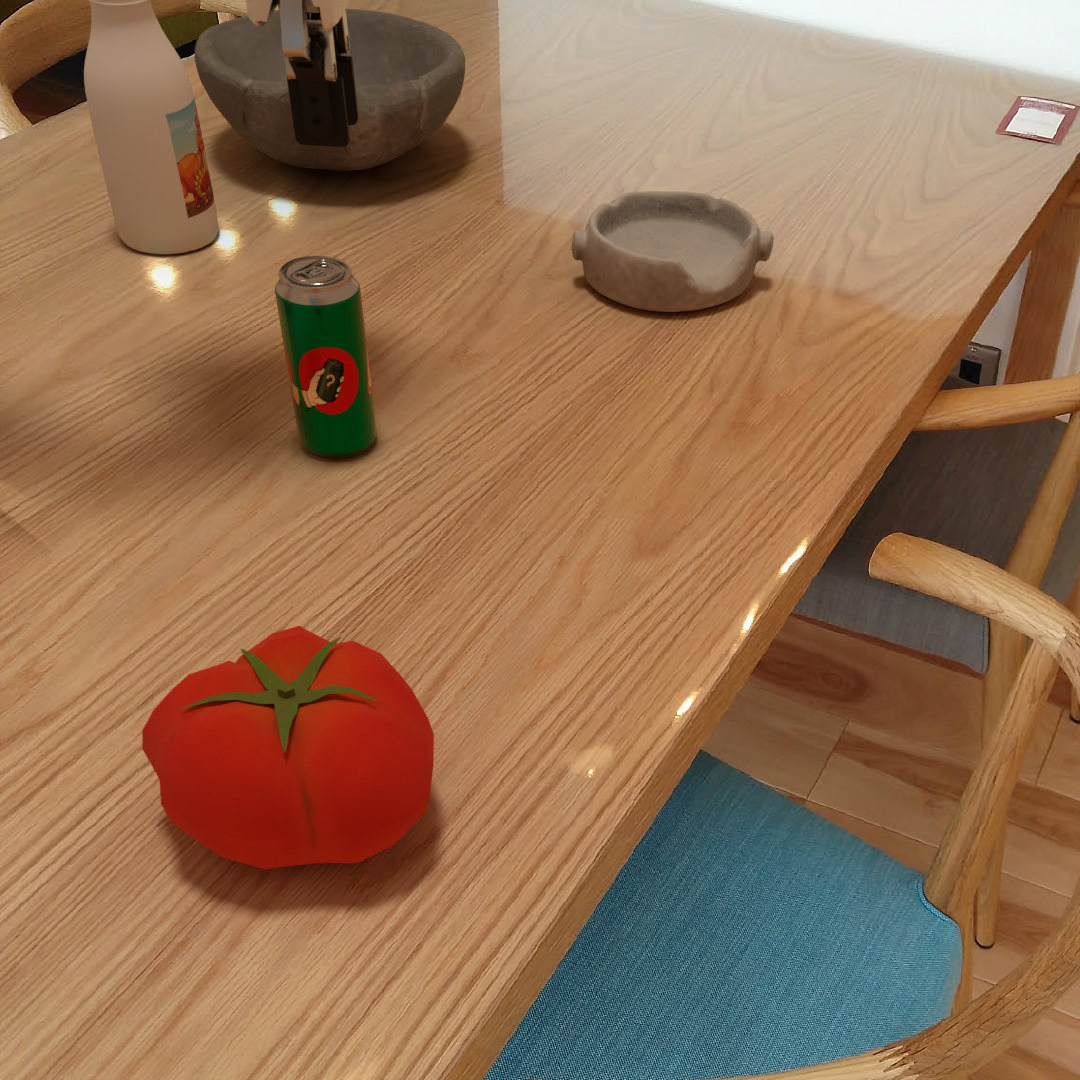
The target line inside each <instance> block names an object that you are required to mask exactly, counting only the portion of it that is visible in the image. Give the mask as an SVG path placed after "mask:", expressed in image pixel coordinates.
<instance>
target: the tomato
mask: <svg viewBox="0 0 1080 1080" xmlns="http://www.w3.org/2000/svg"><path fill="white" fill-rule="evenodd" d="M342 637H343V635H340V636H339V637H337V638H336V639H333V640H332V641H329V640H328V639H326V638H324V637H322V636H321V635H318V634H316V633H314V632H312V631H310V630H308V629H306V628H305V627H302V626H301V625H297V626H293V627H290V628H286V629H283V630H279V631H276V632H272V633H270V634H269V635H268V636H267V637H265V638H263V639H262V640H261V641H259V642H258V643H256V644H255V645H253V646H252V647H251V648H250V649H248V650H246V649H244V648H240V649H239V650H240V651H241V653H242V655H240V656H239V657H238V659H237V660H235V662H234V661H231V660H226V661H224V662H222V663H219V664H216V665H212V666H209V667H206V668H203V669H200V670H197V671H194V672H192V673H188V675H186V676H185V677H184V678H183V679H182V680H181V681H179V682H178V683H177V684H176V685H175V686H174V687H173V688H171V690H170V691H169V692H168V693H166V695H165V696H164V697H163V699H162V700H161V701H160V702H159V703H158V704H157V705H156V707H154V709H152V712H151V714H149V715H150V716H149V717H148V719H147V721H146V723H145V725H144V727H143V729H142V731H141V732H142V733H141V734H142V735H141V736H142V739H141V740H142V742H141V743H142V744H141V745H142V746H141V747H142V751H143V753H144V755H145V757H146V758H147V760H148V761H149V764H150V765H151V767H152V768H153V770H154V772H155V775H156V777H157V778H158V780H159V792H160V793H159V794H160V805H161V807H162V808H163V809H164V812H165V814H166V816H167V817H168V819H169V821H170V822H171V825H174V826H175V827H176V828H178V829H179V830H180V831H182V832H183V833H185V834H186V835H187V836H189V837H191V838H192V839H193V840H195V841H196V842H198V843H200V845H203V846H204V847H206V848H207V849H209V850H211V851H212V852H213V853H215V854H216V855H217V856H220V857H221V858H223V859H226V860H230V861H234V862H237V863H240V864H244V865H248V866H251V867H255V868H258V869H261V870H270V869H277V868H284V867H294V866H305V865H312V864H359V863H360V862H363V861H364V860H367V859H369V858H371V857H373V856H375V855H377V854H379V853H382V852H383V851H386V850H388V849H390V848H391V847H393V846H395V845H396V844H397V843H398V842H399V841H400V840H401V839H402V837H404V835H405V834H407V832H408V831H409V830H410V829H411V828H412V827H413V826H414V825H415V824H416V823H417V822H418V821H419V820H420V819H421V818H422V817H423V816H424V815H425V814H426V813H427V811H428V808H429V803H430V797H431V790H432V780H433V771H434V761H435V760H434V756H435V754H434V752H435V734H434V731H433V728H432V725H431V722H430V719H429V717H428V716H427V713H426V712H425V710H424V708H423V706H422V704H421V703H420V701H419V700H418V698H417V696H416V693H415V692H414V691H413V689H412V687H411V686H410V685H409V684H408V682H407V681H406V680H405V679H404V678H403V676H402V675H401V674H400V673H399V672H398V670H396V669H395V667H394V666H393V665H392V664H391V662H390V661H389V660H388V659H387V658H386V657H385V656H384V655H383V654H382V653H381V652H379V651H377V650H374V649H372V648H370V647H368V646H365V645H363V644H362V643H360V642H357V641H355V640H347V641H341V642H339V641H340V640H341V638H342Z"/></svg>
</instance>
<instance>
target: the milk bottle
mask: <svg viewBox="0 0 1080 1080" xmlns="http://www.w3.org/2000/svg"><path fill="white" fill-rule="evenodd" d="M87 1H88V2H89V6H90V14H91V20H90V24H91V25H90V34H89V38H88V39H89V40H88V43H87V49H86V53H85V60H84V66H83V67H84V68H83V84H84V90H85V91H84V92H85V97H86V103H87V107H88V112H89V117H90V122H91V126H92V131H93V136H94V139H95V143H96V144H95V145H96V149H97V152H98V157H99V162H100V165H101V169H102V173H103V177H104V183H105V186H106V190H107V194H108V199H109V203H110V208H111V211H112V215H113V219H114V224H115V227H116V231H117V234H118V236H119V238H120V239H121V241H122V242H123V243H124V244H125V245H126V246H127V247H129V248H131V249H133V250H135V251H138V252H141V253H147V254H152V255H153V254H155V255H173V254H174V255H176V254H182V253H188V252H191V251H195V250H199V249H201V248H203V247H205V246H207V245H209V244H210V243H212V242H213V241H214V240H215V239H216V238H217V235H218V233H219V229H220V226H219V219H218V213H217V207H216V202H215V201H216V200H215V196H214V191H213V185H212V180H211V175H210V169H209V164H208V159H207V154H206V149H205V144H204V137H203V133H202V129H201V123H200V118H199V113H198V108H197V103H196V100H195V95H194V91H193V87H192V84H191V80H190V77H189V74H188V72H187V69H186V67H185V65H184V63H183V61H182V59H181V57H180V55H179V54H178V52H177V51H176V49H175V47H174V46H173V44H172V43H171V41H170V39H169V38H168V36H167V34H166V33H165V31H164V30H163V29H162V26H161V23H160V22H159V20H158V18H157V16H156V14H155V10H154V9H153V5H152V0H87Z"/></svg>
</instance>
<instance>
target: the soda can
mask: <svg viewBox="0 0 1080 1080" xmlns="http://www.w3.org/2000/svg"><path fill="white" fill-rule="evenodd" d="M274 295H275V301H276V308H277V314H278V318H279V326H280V331H281V337H282V338H281V339H282V344H283V350H284V356H285V357H284V358H285V363H286V369H287V375H288V380H289V387H290V394H291V400H292V405H293V411H294V418H295V423H296V431H297V436H298V440H299V442H300V443H301V444H302V445H303V446H304V447H305V448H306V449H308V451H310V452H311V453H312V454H314V455H316V456H319V457H324V458H329V459H343V458H349V457H354V456H356V455H359V454H361V453H363V452H364V451H366V450H367V449H368V448H369V447H370V446H371V445H372V444H373V442H374V441H375V439H376V438H377V435H378V429H377V421H376V420H377V419H376V413H375V403H374V402H375V401H374V395H373V386H372V377H371V369H370V361H369V360H370V359H369V352H368V342H367V333H366V327H365V325H366V324H365V318H364V308H363V301H362V299H363V298H362V292H361V285H360V283H359V281H358V279H356V277H355V276H354V275H353V270H352V266H350V264H348V263H347V262H345V261H344V260H342V259H340V258H336V257H333V256H326V255H308V256H302V257H297V258H293V259H291V260H289V261H287V262H285V263H284V264H283V265H281V266H280V268H279V269H278V280H277V282H276V283H275V286H274Z"/></svg>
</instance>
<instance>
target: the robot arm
mask: <svg viewBox="0 0 1080 1080" xmlns="http://www.w3.org/2000/svg"><path fill="white" fill-rule="evenodd" d="M350 1H351V0H245V4H246V5H245V6H246V12H247V16H248V17H249V19H250V20H251V21H252V22H253V23H254V24H255V25H256V26H260V27H262V26H264V25H265V23H266V22H268V20H269V18H270V17H271V15H272V13H273V12H274V10H276V8H278V9H277V10H279V17H280V25H281V38H282V51H283V55H284V58H285V66H286V73H287V83H288V90H289V97H290V104H291V111H292V118H293V125H294V132H295V139H296V141H297V142H298V143H299V144H301V145H314V146H330V147H346V146H347V145H348V143H349V140H350V136H349V127H348V125H355V124H356V123H357V120H358V107H357V98H356V89H355V79H354V70H353V61H352V56H341V54H349V51H350V42H349V33H348V25H347V17H346V9H347V7H348V5H349V2H350ZM310 12H311V19H310Z"/></svg>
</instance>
